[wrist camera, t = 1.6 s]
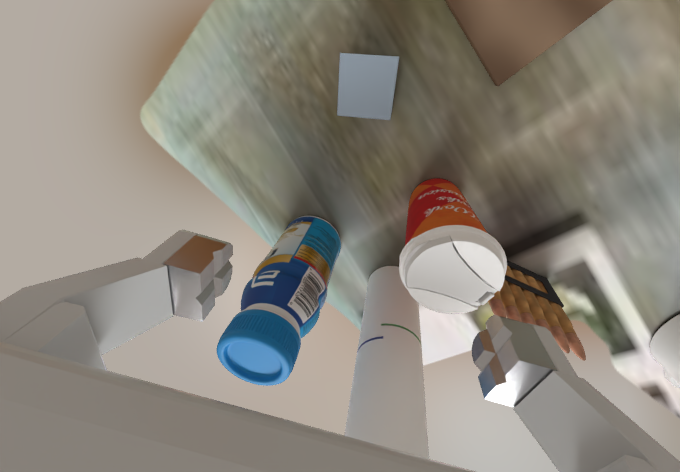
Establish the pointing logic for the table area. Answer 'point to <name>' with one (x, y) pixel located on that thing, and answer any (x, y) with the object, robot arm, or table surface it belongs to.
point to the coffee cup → (449, 251)
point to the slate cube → (367, 85)
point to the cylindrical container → (389, 369)
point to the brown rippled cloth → (517, 29)
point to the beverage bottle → (281, 303)
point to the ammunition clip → (535, 306)
